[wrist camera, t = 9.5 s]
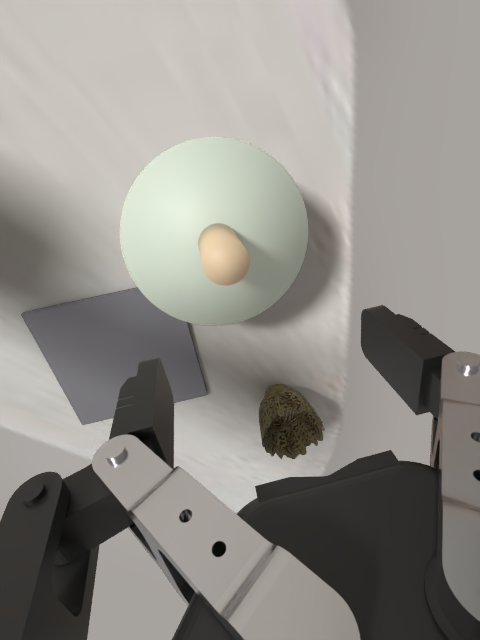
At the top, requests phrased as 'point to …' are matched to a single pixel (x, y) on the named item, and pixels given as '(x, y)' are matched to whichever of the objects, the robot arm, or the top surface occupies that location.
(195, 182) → the lid
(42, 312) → the mat
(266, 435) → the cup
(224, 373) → the top surface
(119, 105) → the top surface
